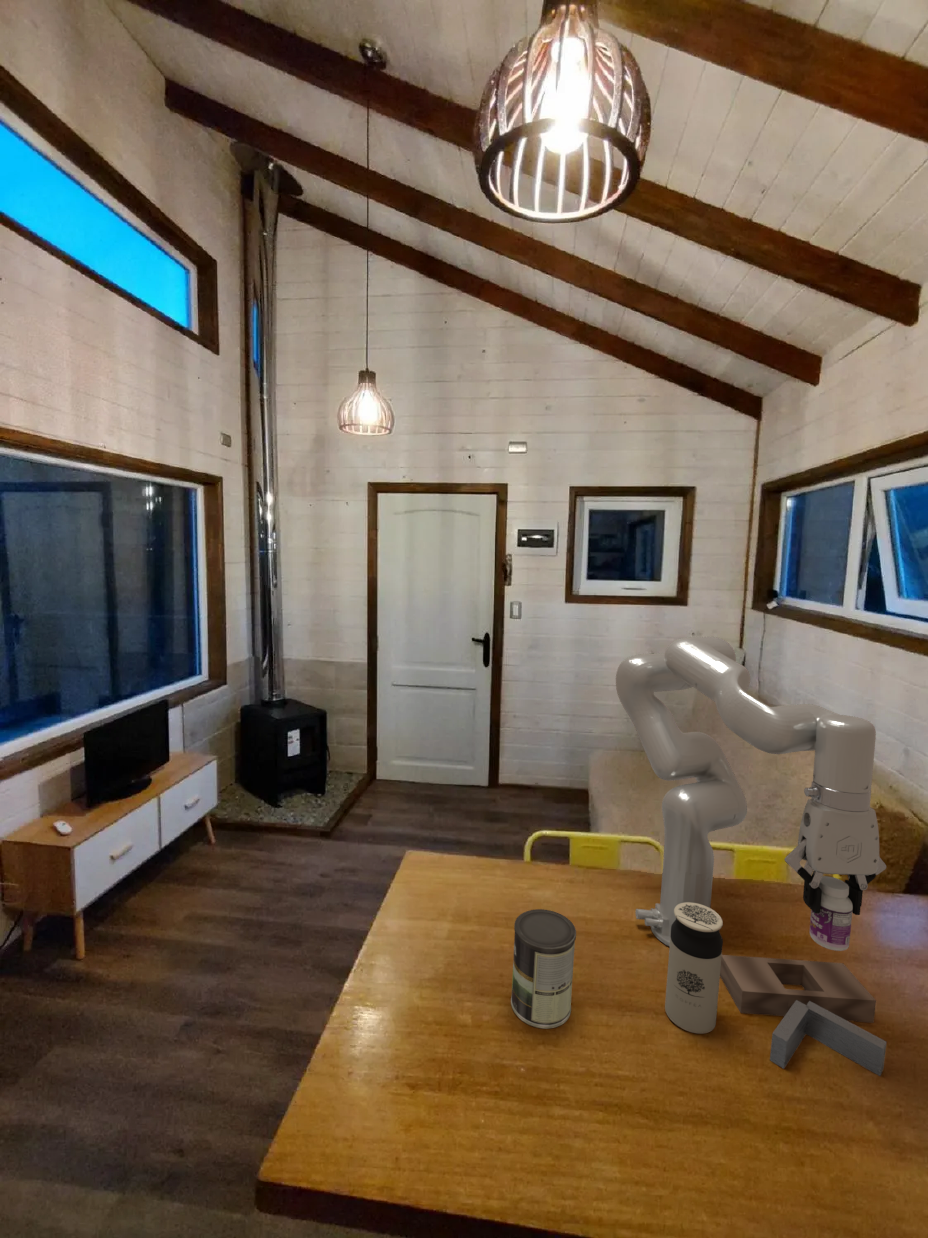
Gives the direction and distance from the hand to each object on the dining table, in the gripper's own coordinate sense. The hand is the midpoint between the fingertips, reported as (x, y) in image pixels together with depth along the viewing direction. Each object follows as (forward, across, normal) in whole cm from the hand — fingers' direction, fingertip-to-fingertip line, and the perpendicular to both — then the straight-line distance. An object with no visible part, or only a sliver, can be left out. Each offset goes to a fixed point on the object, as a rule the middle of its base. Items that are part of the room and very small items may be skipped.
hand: (831, 908), depth 89 cm
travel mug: (+23, -19, +5) cm, 30 cm away
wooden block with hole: (+23, +1, +10) cm, 25 cm away
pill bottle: (+6, 0, 0) cm, 6 cm away
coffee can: (+23, -44, +5) cm, 50 cm away
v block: (+23, -1, -1) cm, 23 cm away
